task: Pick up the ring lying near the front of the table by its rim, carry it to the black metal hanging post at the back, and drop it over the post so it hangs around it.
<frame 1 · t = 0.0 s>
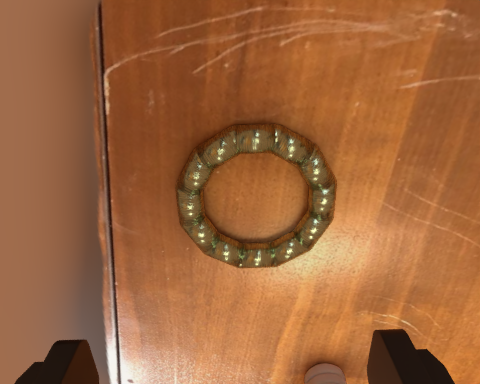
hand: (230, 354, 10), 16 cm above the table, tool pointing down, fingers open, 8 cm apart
light bulb: (322, 370, 34), on the table
ring: (256, 202, 25), point 1 cm above the table
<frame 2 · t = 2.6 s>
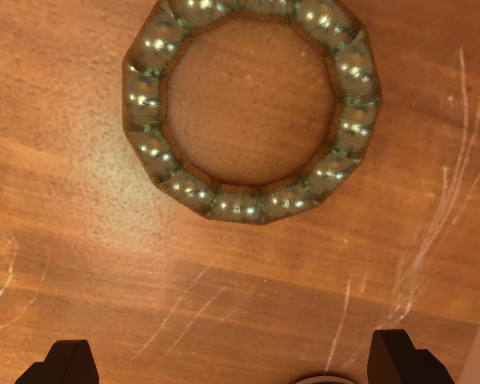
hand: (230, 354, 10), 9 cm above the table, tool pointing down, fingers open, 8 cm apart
ring: (250, 112, 16), point 1 cm above the table
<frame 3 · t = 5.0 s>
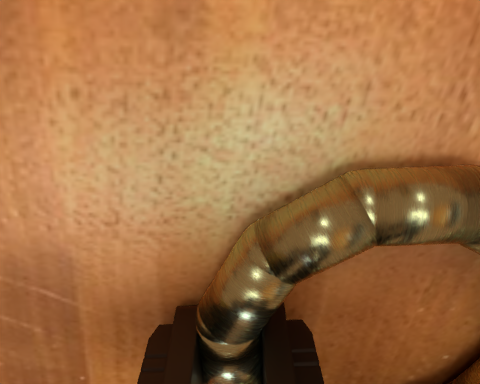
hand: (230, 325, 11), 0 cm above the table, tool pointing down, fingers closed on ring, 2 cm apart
ring: (386, 342, 10), point 1 cm above the table, touching gripper
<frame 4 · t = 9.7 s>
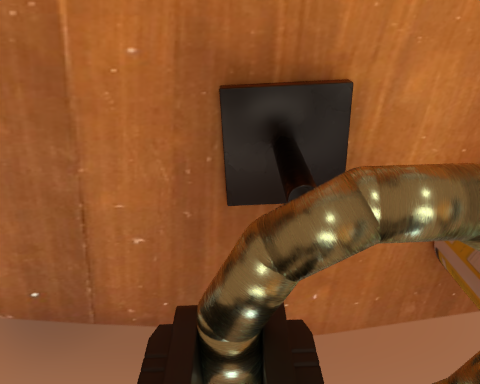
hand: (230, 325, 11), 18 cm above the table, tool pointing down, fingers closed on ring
pill bottle: (467, 233, 31), on the table
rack: (283, 143, 27), on the table
ring: (385, 339, 11), point 19 cm above the table, touching gripper
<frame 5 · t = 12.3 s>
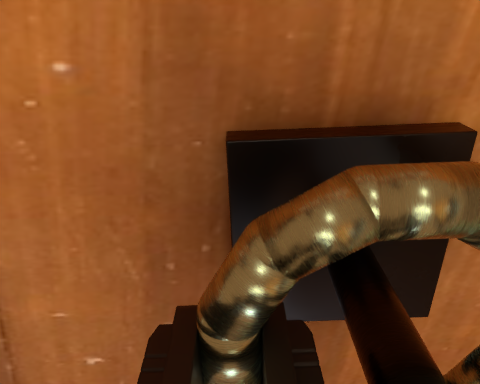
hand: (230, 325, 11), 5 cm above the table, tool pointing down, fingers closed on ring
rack: (333, 225, 16), on the table
ring: (384, 336, 11), point 6 cm above the table, touching gripper
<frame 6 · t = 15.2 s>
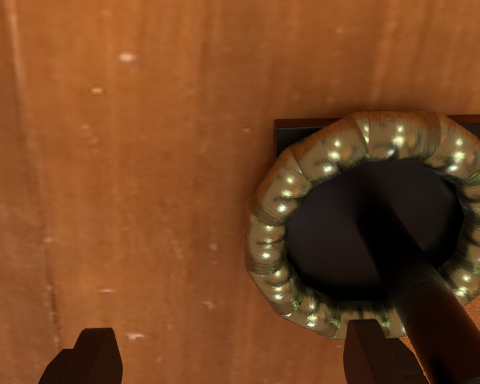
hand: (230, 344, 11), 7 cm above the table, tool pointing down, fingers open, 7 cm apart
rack: (370, 211, 17), on the table
ring: (373, 240, 15), point 2 cm above the table, touching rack
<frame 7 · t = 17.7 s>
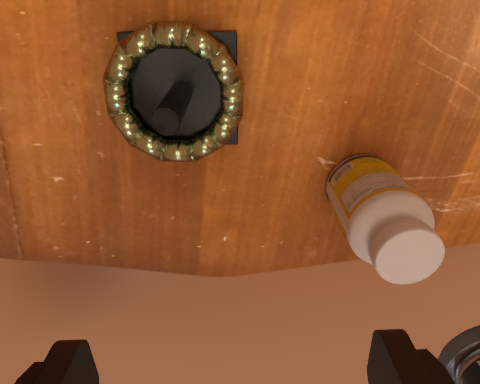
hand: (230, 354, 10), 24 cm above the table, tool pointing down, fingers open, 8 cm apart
pill bottle: (357, 182, 35), on the table
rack: (183, 89, 30), on the table
ring: (174, 97, 29), point 2 cm above the table, touching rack
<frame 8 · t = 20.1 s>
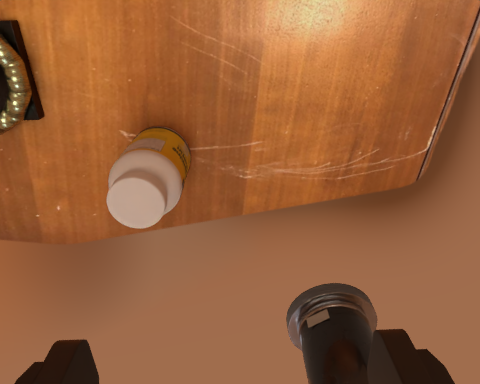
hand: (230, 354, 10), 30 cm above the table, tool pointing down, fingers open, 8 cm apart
pill bottle: (162, 152, 40), on the table
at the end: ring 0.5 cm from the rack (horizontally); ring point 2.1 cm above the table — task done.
